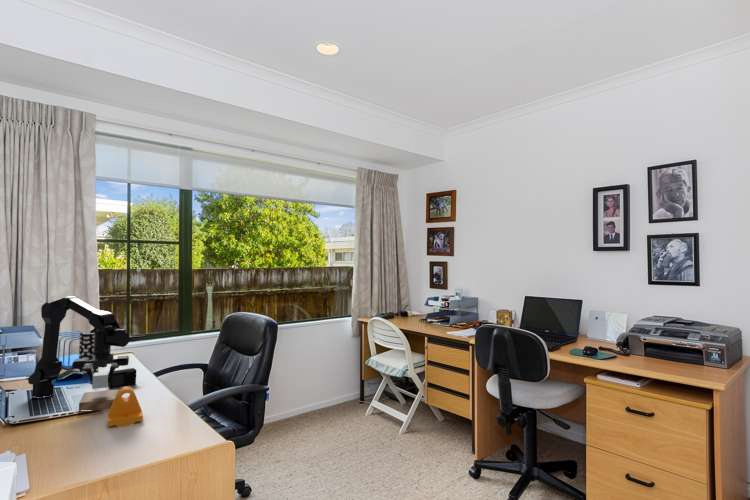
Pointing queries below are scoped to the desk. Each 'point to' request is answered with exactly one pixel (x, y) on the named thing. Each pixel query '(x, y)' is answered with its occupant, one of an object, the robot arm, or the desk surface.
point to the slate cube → (100, 380)
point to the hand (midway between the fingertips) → (100, 383)
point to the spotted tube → (86, 348)
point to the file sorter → (69, 359)
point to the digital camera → (123, 378)
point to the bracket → (124, 409)
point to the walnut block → (97, 400)
